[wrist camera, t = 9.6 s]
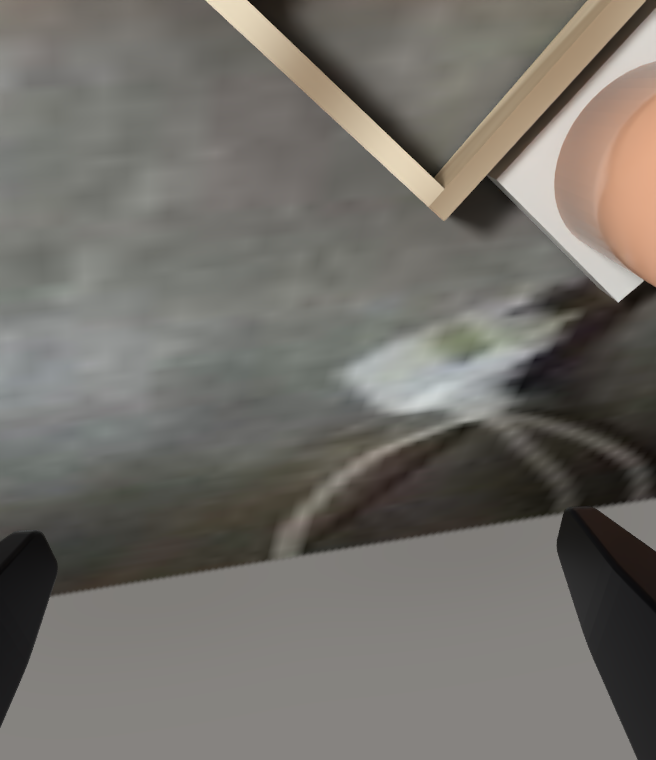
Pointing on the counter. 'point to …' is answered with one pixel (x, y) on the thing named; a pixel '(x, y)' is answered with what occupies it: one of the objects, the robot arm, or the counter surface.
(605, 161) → the terracotta pot
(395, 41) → the counter surface
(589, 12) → the beige square frame
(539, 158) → the stone tile
